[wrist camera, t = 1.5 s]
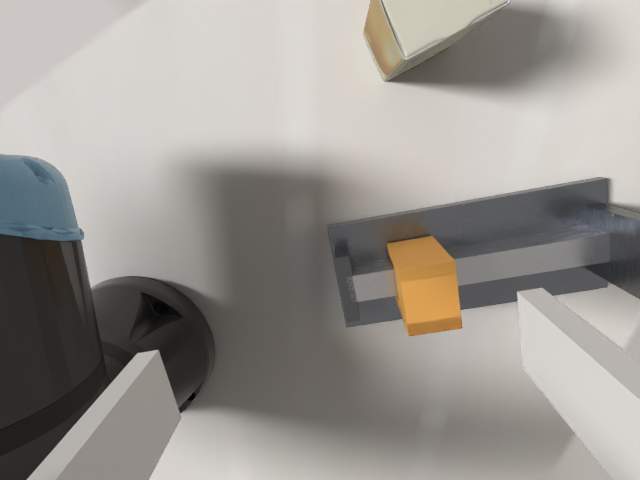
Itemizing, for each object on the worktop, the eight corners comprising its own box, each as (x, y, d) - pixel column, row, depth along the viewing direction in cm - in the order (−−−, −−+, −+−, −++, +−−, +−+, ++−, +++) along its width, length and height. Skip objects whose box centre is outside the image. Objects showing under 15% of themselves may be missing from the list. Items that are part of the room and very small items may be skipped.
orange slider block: (395, 298, 37) (408, 336, 30) (387, 243, 36) (399, 270, 29) (439, 291, 37) (462, 328, 30) (432, 235, 35) (455, 260, 29)
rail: (346, 322, 39) (348, 369, 32) (327, 225, 37) (325, 250, 29) (600, 283, 37) (669, 323, 30) (599, 177, 35) (674, 190, 27)
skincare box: (431, -8, 32) (488, -89, 20) (452, 46, 32) (519, -1, 21) (357, 34, 32) (370, -19, 21) (380, 85, 33) (405, 61, 22)
